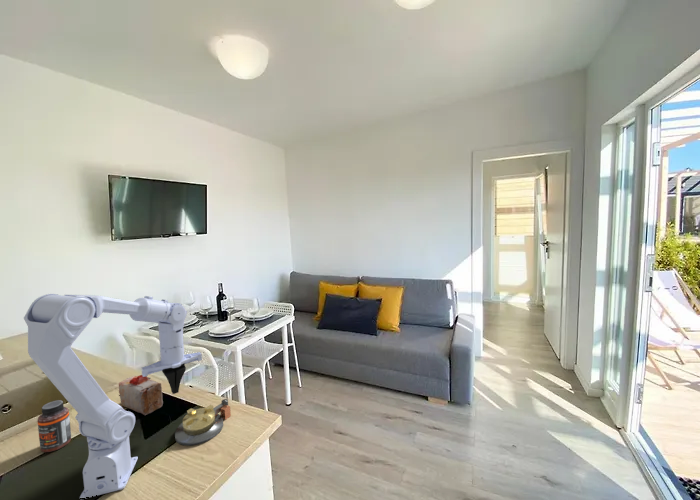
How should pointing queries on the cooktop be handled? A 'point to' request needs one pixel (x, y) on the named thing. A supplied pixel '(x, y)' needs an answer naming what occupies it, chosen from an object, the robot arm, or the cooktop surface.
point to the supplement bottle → (54, 426)
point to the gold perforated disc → (201, 419)
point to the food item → (141, 394)
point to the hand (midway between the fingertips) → (175, 391)
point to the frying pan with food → (205, 436)
